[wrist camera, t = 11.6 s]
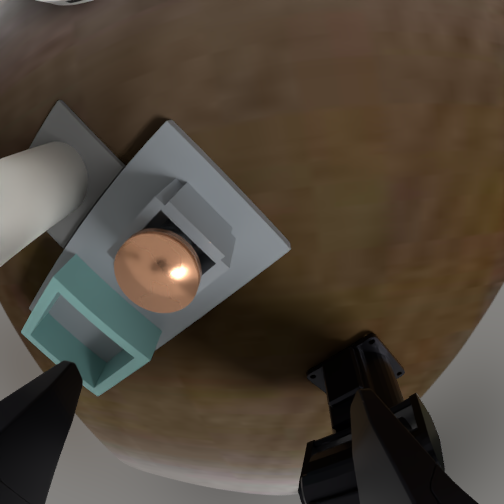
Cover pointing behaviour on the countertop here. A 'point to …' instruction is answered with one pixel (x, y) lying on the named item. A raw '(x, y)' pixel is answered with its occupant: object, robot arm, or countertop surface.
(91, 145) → the mat
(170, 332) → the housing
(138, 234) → the plunger
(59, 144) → the cartridge
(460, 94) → the countertop surface
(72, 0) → the showerhead
